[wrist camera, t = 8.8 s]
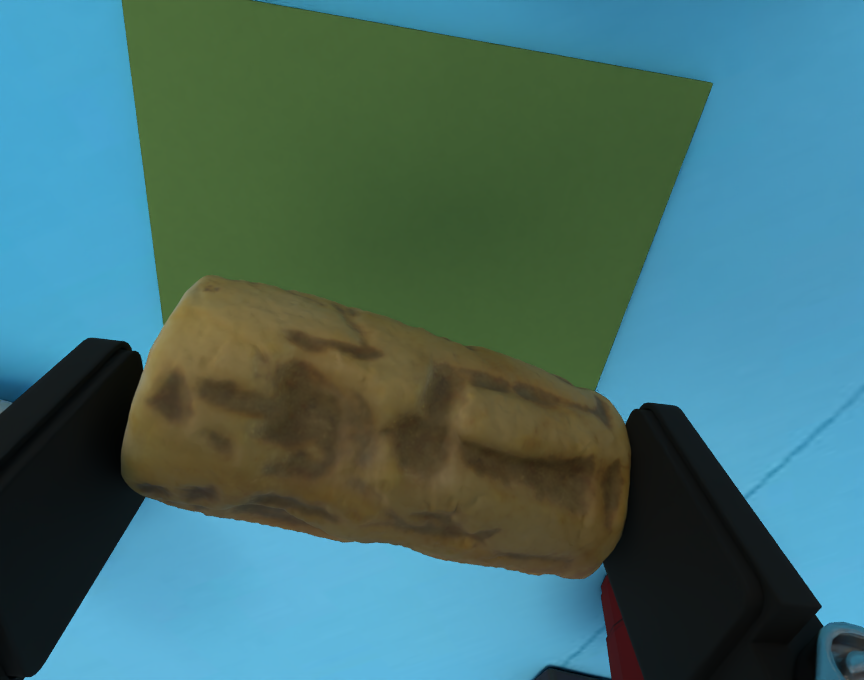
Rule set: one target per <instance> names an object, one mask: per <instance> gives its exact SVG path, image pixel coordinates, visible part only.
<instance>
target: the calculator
mask: <svg viewBox="0 0 864 680" xmlns="http://www.w3.org/2000/svg"><path fill="white" fill-rule="evenodd" d="M535 680H599V679H595V678H591V677H586V676H582V675H578V674H573V673H569V672H565V671H560V670H556V669H547V670H545V671H544V672H543V673H542V674H541V675H540V676H538V677H537V678H536V679H535Z"/></svg>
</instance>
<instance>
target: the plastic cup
mask: <svg viewBox="0 0 864 680" xmlns="http://www.w3.org/2000/svg"><path fill="white" fill-rule="evenodd" d="M601 589H602V595H601V600H602V606H603V612H604V619H605V625H606V631H607V638H606V641H607V649H608V656H609V663H610V671H611V678H612V680H644V678H643V675H642V672H641V669H640V666H639V663H638V661H637V658H636V655H635V652H634V649H633V646H632V644H631V641H630V638H629V635H628V632H627V629H626V627H625V624H624V621H623V618H622V615H621V612H620V610H619V607H618V604H617V601H616V598H615V595H614V592H613V590H612V587H611V584H610V581H609V578H608V575H606V577H605V579H604V581H603V583H602V585H601Z"/></svg>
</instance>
